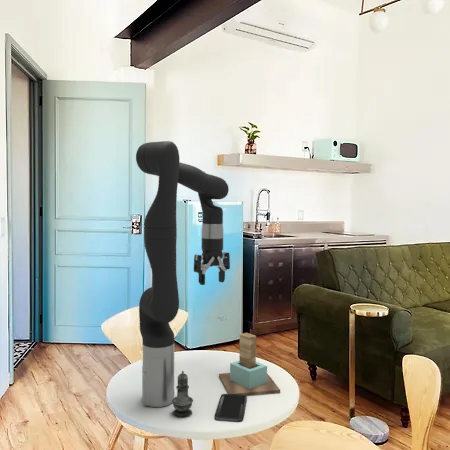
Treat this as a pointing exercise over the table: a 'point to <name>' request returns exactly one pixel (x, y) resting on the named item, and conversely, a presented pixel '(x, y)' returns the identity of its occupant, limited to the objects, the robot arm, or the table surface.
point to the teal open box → (248, 375)
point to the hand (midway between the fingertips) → (212, 283)
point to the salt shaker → (182, 398)
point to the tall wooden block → (247, 350)
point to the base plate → (238, 389)
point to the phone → (231, 408)
